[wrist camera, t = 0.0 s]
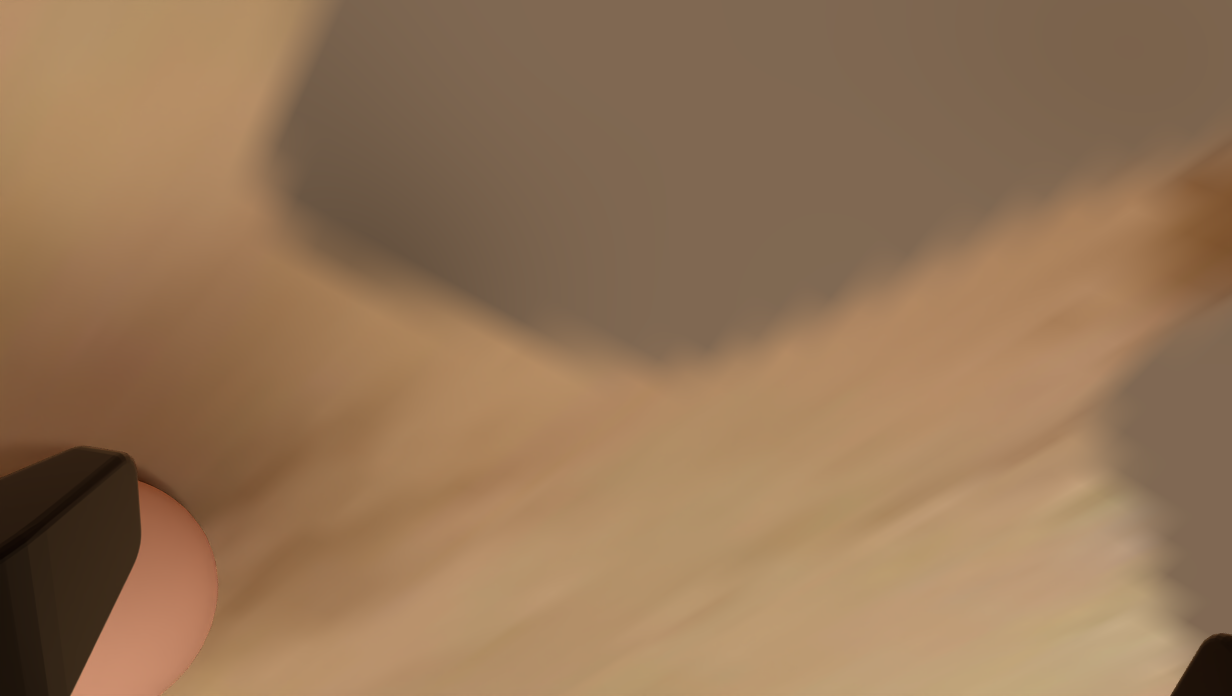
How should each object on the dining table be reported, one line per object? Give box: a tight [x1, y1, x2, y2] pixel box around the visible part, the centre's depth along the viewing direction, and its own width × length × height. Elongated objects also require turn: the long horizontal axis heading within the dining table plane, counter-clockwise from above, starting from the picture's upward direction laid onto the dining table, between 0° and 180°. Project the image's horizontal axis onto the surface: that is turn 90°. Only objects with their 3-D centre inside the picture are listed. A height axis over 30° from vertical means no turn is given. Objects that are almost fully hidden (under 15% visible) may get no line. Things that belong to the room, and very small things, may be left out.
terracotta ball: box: [71, 481, 218, 696], centre depth 24 cm, size 6×6×6 cm
